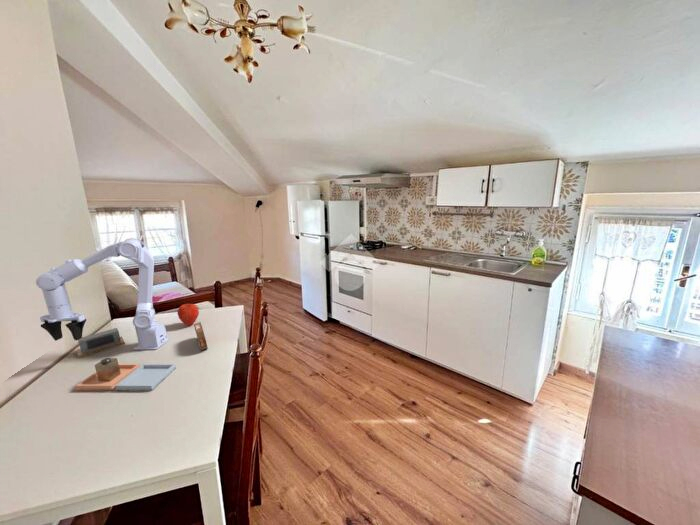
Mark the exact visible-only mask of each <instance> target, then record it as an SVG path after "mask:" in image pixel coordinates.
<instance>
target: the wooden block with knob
mask: <svg viewBox="0 0 700 525" xmlns="http://www.w3.org/2000/svg"><path fill="white" fill-rule="evenodd" d="M119 364H120V363H119V361H118V358H117V357H116V358H115V357H105V358H102V359H101V360H100V361H99V362H97V363H96V364H94V368H95V373H97V376H98V380H99V381H112V380H113V379H114V378H116V377H117V376H119V375H120V374H121V372H120V368H119Z"/></svg>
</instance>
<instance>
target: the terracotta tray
mask: <svg viewBox="0 0 700 525" xmlns="http://www.w3.org/2000/svg"><path fill="white" fill-rule="evenodd" d="M118 364H119V368H120V372H121V374H120V375H119V376H117V377H116V378H114V379H113V380H112V381H99V380H98V376H97V373H96V372H94V373H92V374H91V375H89V376H88V377H86V378H85V379H84V380H82V381H80V382H79V383H78V384H76V385H75V388H76V391H79V392H80V391H84V392H88V391H89V392H91V391H98V392H99V391H101V392H102V391H103V392H107V391H109V392H111V390H113V391H114V390H116V387H115V386H116V385H117V384H118V383H120V382H121V381H122V380H123V379H125V378H126V377H127V376H129V375H130V374H131V373H132V372H134V371H135V370H136V369H138V368H139V367H140V366H141V364H140V363H118Z"/></svg>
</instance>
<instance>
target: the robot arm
mask: <svg viewBox="0 0 700 525" xmlns="http://www.w3.org/2000/svg"><path fill="white" fill-rule="evenodd" d="M120 256H121V257H123V258H126V259H128V260H131V261H133V262H135V264H137V265H138V281H137V282H138V285H137V286H138V287H137V304H136V305H137V306H136V310H135V315H134V317H133V318H132V324H133V326H134V329H135V332H136V333H135V334H136V337H137V343H138V345H137V346H135V347H133V350H138V351H139V350H140V351H141V350H147V351H148V350H152V351H153V350H157V349H159V348H160V347H161V346H163V345H164V344H166V343H167V342H168V341H170V339H169V338H168V334H167V329H166V326H165V325H163V324H160V323H158V322H157V320H156V319H155V318H154V317H155V315H156V311H155V308H154V303H153V296H154V295H153V293H154V292H153V291H154V274H155V270H154V269H155V258H154V256H153V255H152V254H151V252H150V251H149V250H148V249H147V247H146V244H145V243H143V242H142V241H140V240H139V239H137V238H134V237H130V238H127V239H125V240H124V241H119V242H115V243H113V244H110V245H108V246H106V247H104V248H102V249H100V250H98V251H96V252H95V253H93V254H90V255H88V256H87V257H85V258H83V259H77V258H74V259H68V260H66V261H65V262H64V264H61V265H59V266H57V267H52V268H50V269H49V270H50V271H47V272H45V273H42V274H40V275H39V276H37V278H36V281H35V284H36V286H37V287H38V288H39V289H41V290H42V294H43V298H44V301H45V305H46V308H47V312H48V314H45V315H43V316H40V317H39V319H40V322H41V323H42V324H40V328H42V329H43V330H45V331H46V332H47V333H48V334H49V335H50V336H51V338H52V339H53V340H54V341H58V340H61V339H63V331H62V330H63V329H62V322H67V323H66V324H64V326H66V328H67V329H68V330H69V331H70V333H71V336H72V338H73V340H74V341H78V340H79V339H81V338H82V337H83V331H84V330H83V329H84V327H85V324H86V322H87V319H86V318H85V315H84V314H79V313H76V312H75V313H74V311H73V308H72V304H71V301H70V298H69V294H68V291H67V287H66V285H65V283H68V282H70V281H72V280H74V279H76V278H78V277H80V276H82V275H84V274H85V273H87V272H88V271H89V268H90V267H91V266H93V265H95V264H97V263H99V262H102V261H104V260H106V259H108V258H110V257H117V258H118V257H120Z"/></svg>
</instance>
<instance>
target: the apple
mask: <svg viewBox="0 0 700 525" xmlns="http://www.w3.org/2000/svg"><path fill="white" fill-rule="evenodd" d="M177 315H178V319H179V320H180V321H181V322H182V323H183V324H184V325H185V326H186V327H187V326H188V327H193V325H194V324H195V322H196V321H197V319H198V317H199V315H200V311H199V308H198V306H197V305H195V304H194V303H184V304H182V305H180V306H179V307H178V309H177Z"/></svg>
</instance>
